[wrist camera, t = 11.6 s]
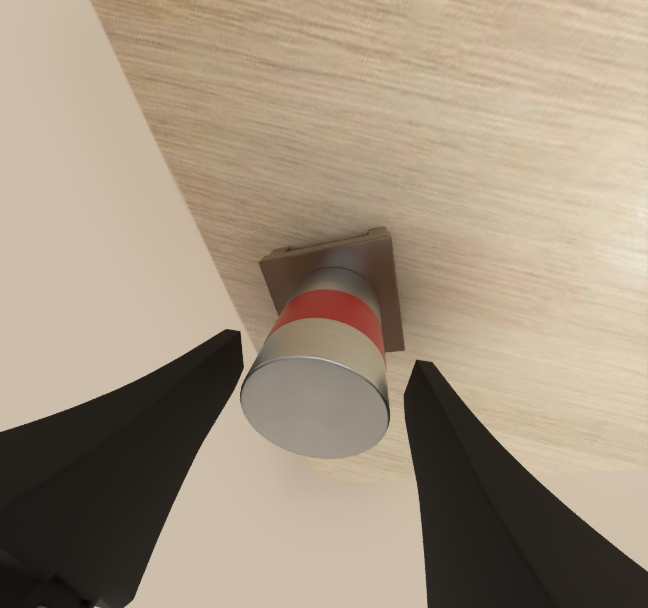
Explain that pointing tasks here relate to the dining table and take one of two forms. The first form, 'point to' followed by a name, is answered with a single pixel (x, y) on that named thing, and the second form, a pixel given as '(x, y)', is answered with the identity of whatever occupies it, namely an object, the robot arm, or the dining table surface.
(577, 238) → the dining table surface
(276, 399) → the can
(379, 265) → the stool
